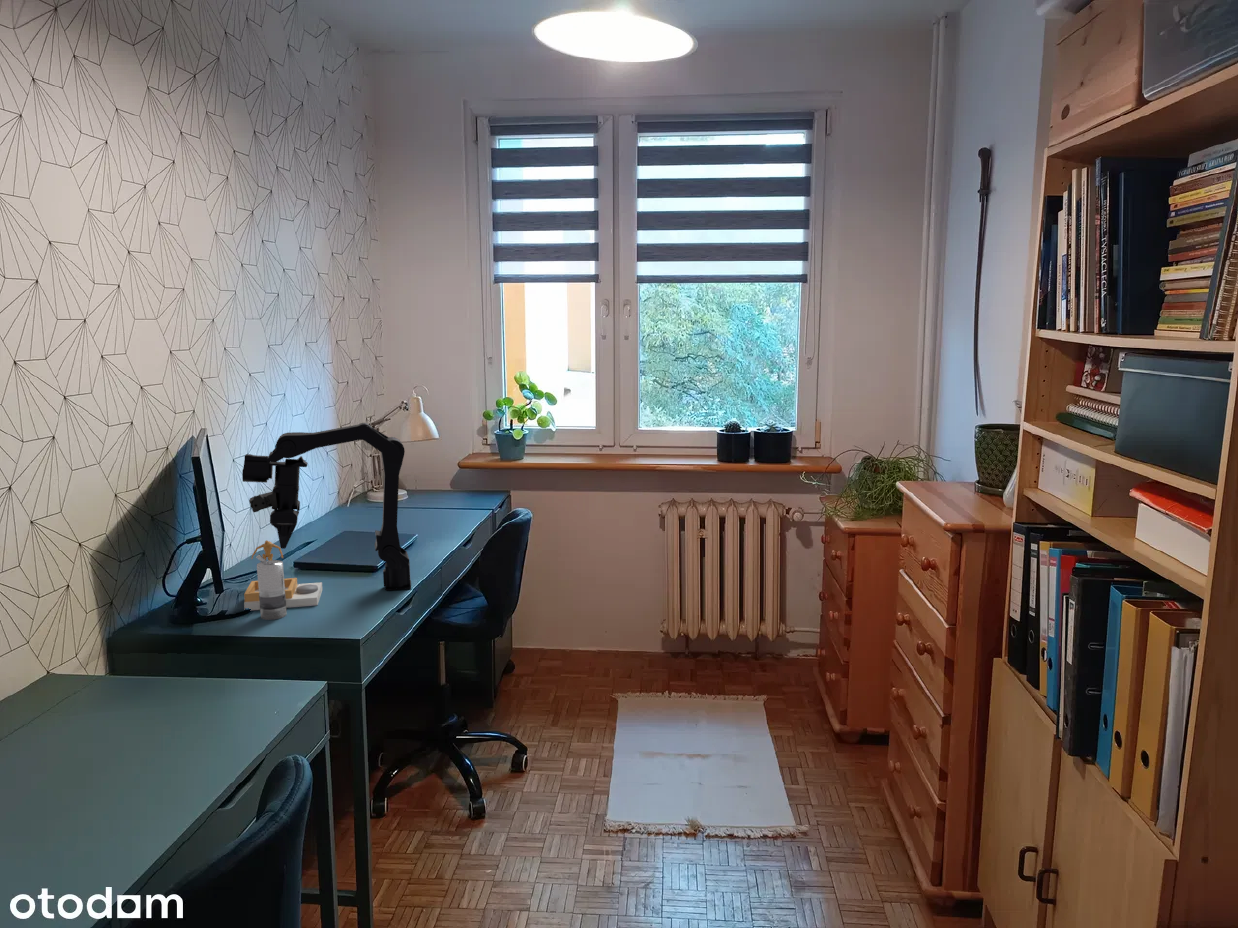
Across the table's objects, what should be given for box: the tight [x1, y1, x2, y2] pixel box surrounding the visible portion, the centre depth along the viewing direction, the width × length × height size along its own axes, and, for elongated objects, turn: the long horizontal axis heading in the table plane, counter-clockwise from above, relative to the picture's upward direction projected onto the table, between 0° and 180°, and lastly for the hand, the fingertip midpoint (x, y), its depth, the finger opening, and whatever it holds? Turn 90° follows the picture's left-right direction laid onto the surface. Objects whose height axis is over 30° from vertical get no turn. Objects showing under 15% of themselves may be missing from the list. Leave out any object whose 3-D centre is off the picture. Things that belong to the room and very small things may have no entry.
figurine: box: [251, 540, 284, 561], centre depth 238 cm, size 8×6×12 cm
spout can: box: [255, 553, 287, 621], centre depth 213 cm, size 6×6×16 cm
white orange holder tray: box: [243, 577, 323, 611], centre depth 225 cm, size 17×13×4 cm
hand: (284, 543), depth 225 cm, fingers open, 9 cm apart
